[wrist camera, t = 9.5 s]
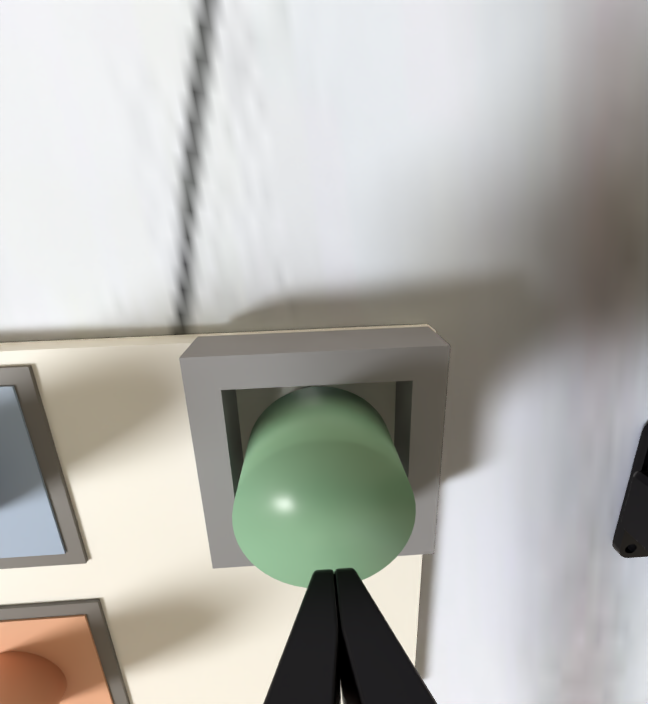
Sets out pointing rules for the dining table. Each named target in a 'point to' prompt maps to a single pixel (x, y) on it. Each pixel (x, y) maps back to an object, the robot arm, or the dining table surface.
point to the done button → (321, 488)
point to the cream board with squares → (182, 501)
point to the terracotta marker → (30, 679)
